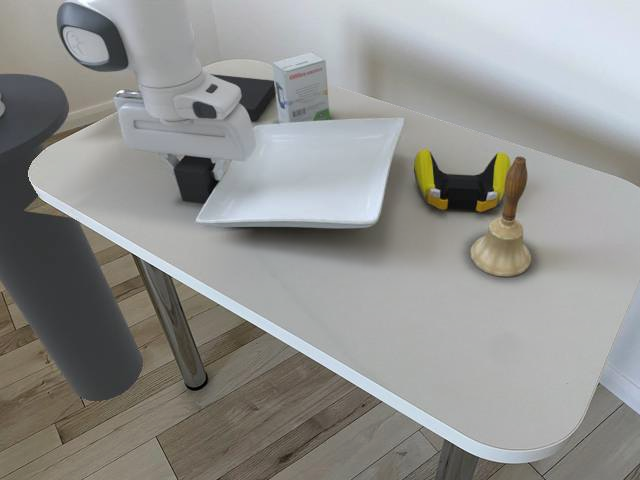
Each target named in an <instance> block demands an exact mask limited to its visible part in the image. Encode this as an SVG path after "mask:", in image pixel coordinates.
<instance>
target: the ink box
mask: <svg viewBox="0 0 640 480" xmlns="http://www.w3.org/2000/svg"><path fill="white" fill-rule="evenodd" d="M271 66H272V67H271V68H272V76H273V81H274V84H275V92H276V94H275V98H276V108H277V109H276V110H277V118H278V124H280V123H293V122H306V121H323V120H331V119H330V105H329V104H330V103H329V91H328V89H329V87H328V73H327V60H326V59H324V58H323V57H322V56H320V55H318V54H317V53H315V52H307V53H304V54H300V55H297V56H293V57H289V58H286V59H282V60H276V61H274V62H272V63H271Z"/></svg>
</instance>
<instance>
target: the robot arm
mask: <svg viewBox="0 0 640 480" xmlns="http://www.w3.org/2000/svg"><path fill="white" fill-rule="evenodd" d="M56 27H57V28H56V29H57V33H58V37H59V38H60V41H61V43H62V45H63V47H64V48H65V50H66V51H67V53H68V54H69V55H70V56H71V58H72V59H73V60H74V61H75V62H77V63H78V64H80V65H81V66H82V67H83V68H87V69H89V70H91V71H93V72H99V73H111V72H121V71H124V70H130V71H132V72H133V73H134V75H135V80H136V82H137V83H136V84H137V86H138V88H139V89H135V90H134V89H133V90H132V89H129V88H128V89H127V88H122V89H120V90H118V91H117V92H116V93H115V94H114V96H113V103H114V105H115V109H116V111H117V114H118V116H117V117H118V122H119V127H120V131H121V134H122V138H123V141H124V144H125V145H126V146H127V147H128V148H129V149H131V150H132V151H137V152H138V151H139V152H148V153H158V154H159V157H160V159H161V160H162V161H163V162H164V163H165V164H166V165H167V166H168V167H169V168H170V169H171V170H170V171H171V173H172V175H173V176H174V177H175V174H174V170H173V169H174V168H175V167H176V166H177V164H178V163H179V162H180V161H181V160H180V159H179V158H178V157H177V155H178V156H185V155H186V156H195V157H205V158H211V161H212V163H216V164H215V165H213V166H212V167H211V169H210V170H209V175H210V179H211V180H218V181H220V180H221V179H222V177H223V174H224V170H223V165H224V162H225V160H226V161H232V160H233V161H246V160H247V159H248V158H249V157H250V156H251V154H252V153H253V151H254V149H255V147H256V140H255V135H254V131H253V128H254V127H253V124H252V121H251V120H250V117H249V114H248V112H247V110H246V109H245V108H244V107H243V106H242V105H241V104H239V101H240V99H241V96H242V95H241V90H240V88H239V87H238V86H237V85H235V84H232V83H229V82H227V81H224V80H222V79H219V78H217V77H214V76H212V75H210V74H211V73H208V72H206V71H204V70H203V69H204V68H203V65H202V62H201V61H200V59H199V58H198V56H197V52H196V48H195V40H196V38H195V32H194V27H193V24H192V20H191V16H190V13H189V9H188V6H187V3H186V0H65V1H64V2H63V3H62V4H60V6H59V7H58V9H57V13H56ZM4 111H5V105H4V104H3V102H2V101H1V94H0V117H1V116H2V114H3V113H4Z"/></svg>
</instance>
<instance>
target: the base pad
mask: <svg viewBox="0 0 640 480" xmlns="http://www.w3.org/2000/svg"><path fill="white" fill-rule="evenodd" d="M209 74H210V75H212V76H214V77H217V78H219V79H222V80H224V81H227V82H229V83H232V84H235V85H237V86H238V87H239V88H240V90H241V95H242V96H241V99H240V101H239V104H241V105H242V106H243V107H244V108H245V109H246V110H247V112H248V114H249V117H250V120H251V122H257V121H258V119H259V118H260V117H261V116H262V114H263V113H264V111H265V110H266V109H267V108H268V106H269V104H270V103H271V101H272V100H273V99H274V98H275V97H276V92H275V84H274V79H273V80H272V79H263V78H262V79H261V78H252V77H244V76H243V77H242V76H233V75H223V74H214V73H209Z"/></svg>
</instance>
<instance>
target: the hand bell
mask: <svg viewBox="0 0 640 480" xmlns="http://www.w3.org/2000/svg"><path fill="white" fill-rule="evenodd" d="M526 159H527V158H525V157H523V156H516V157H515V158H514V160H513V162H512V163H511V167H510V169H509V170H508V172H507V175H506V179H505V187H504V191H505V193H504V196H505V200H504V201H505V202H504V205H503V209H502V214H501V216H500V217H496V218H494V219H493V220H492V221H491V222H490V223H489V226H488V229H487V231H486V233H485V235H483V236H481V237H479V238H478V239H476V240H475V242H473V244H472V245H471V247H470V251H469V256H470V258H471V262H473V264H474V265H475V266H476V267H477V268H478V269H479V270H481V271H482V272H484V273H486V274H489V275H492V276H496V277H501V278H502V277H503V278H511V277H514V276H519V275H521V274H523V273H524V272H526V271H527V270H528V269H529V267H530V266H531V263H532V255H531V252H530V250H529V248H528V247H527V245H526V244H525V243H524V227H523V225H522V224H521V222H520V221H518V220H517V219H516V214H517V208H518V203H519V200H520V199H521V198H522V196H523V194H524V192H525V190H526V187H527V182H528V169H527V162H526V161H527V160H526Z"/></svg>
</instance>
